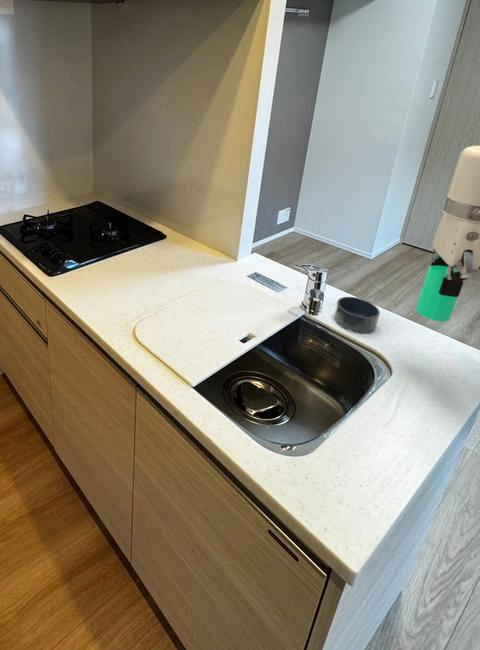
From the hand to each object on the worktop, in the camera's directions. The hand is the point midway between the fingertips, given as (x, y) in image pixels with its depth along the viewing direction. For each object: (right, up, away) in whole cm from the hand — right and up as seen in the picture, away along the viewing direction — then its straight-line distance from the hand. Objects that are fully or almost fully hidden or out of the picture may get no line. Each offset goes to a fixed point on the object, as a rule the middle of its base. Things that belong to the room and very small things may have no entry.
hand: (441, 286), depth 88 cm
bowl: (-3, -15, +25) cm, 30 cm away
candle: (0, -7, +3) cm, 7 cm away
